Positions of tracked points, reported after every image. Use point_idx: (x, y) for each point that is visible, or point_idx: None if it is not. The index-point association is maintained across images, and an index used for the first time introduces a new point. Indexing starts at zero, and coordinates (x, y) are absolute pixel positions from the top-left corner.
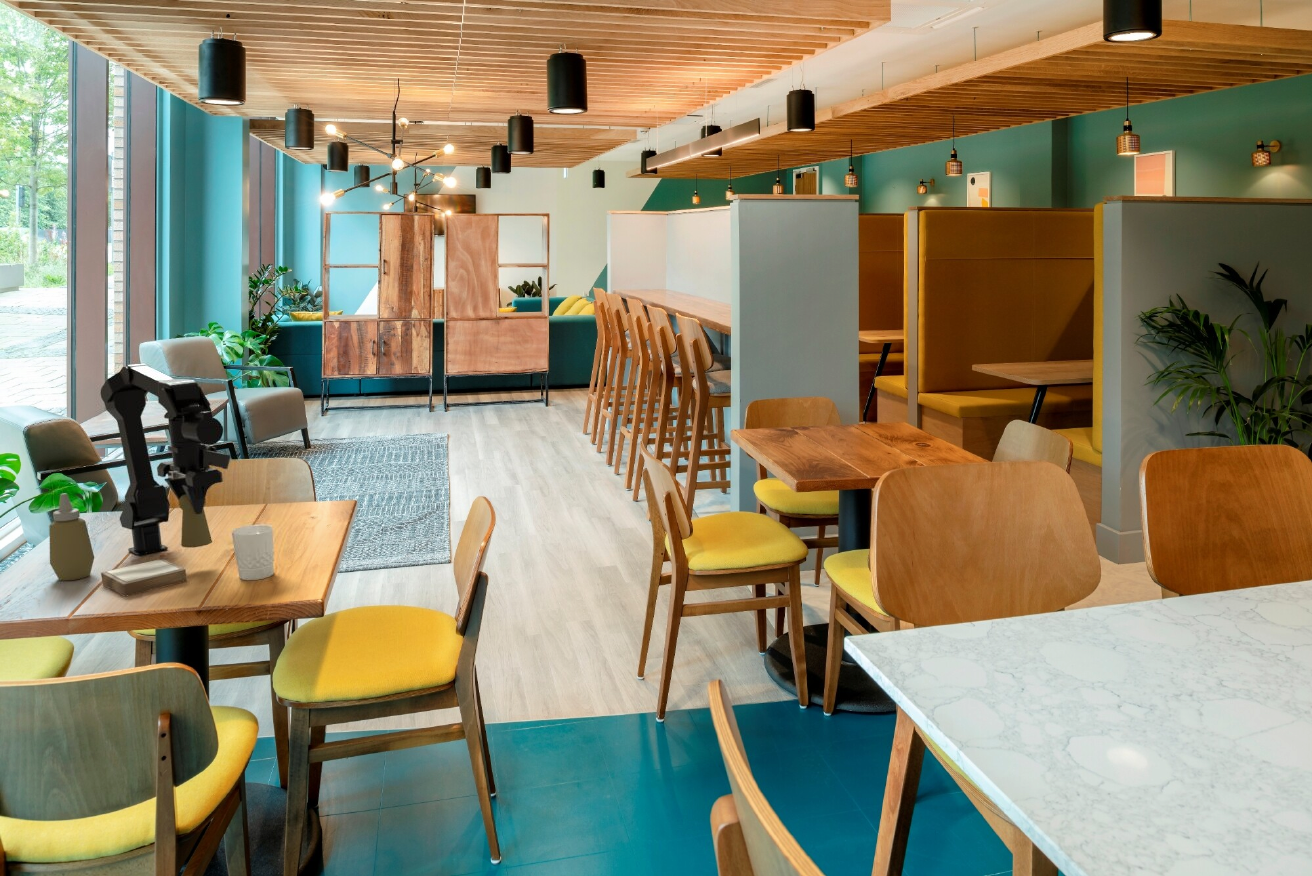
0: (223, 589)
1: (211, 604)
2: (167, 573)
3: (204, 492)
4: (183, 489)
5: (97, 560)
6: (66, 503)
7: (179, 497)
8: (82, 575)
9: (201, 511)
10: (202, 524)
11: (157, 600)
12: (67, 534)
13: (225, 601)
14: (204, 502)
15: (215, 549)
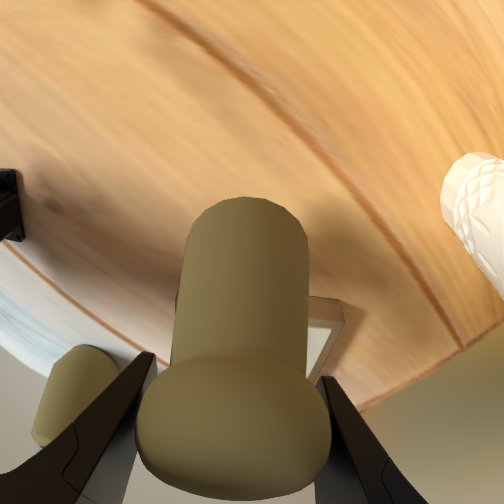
0: (456, 289)
1: (472, 335)
2: (326, 353)
3: (409, 501)
4: (107, 493)
5: (15, 292)
6: None
7: (133, 460)
8: (116, 369)
9: (338, 387)
10: (308, 314)
11: (374, 370)
12: None
13: (487, 318)
14: (321, 407)
15: (105, 70)
